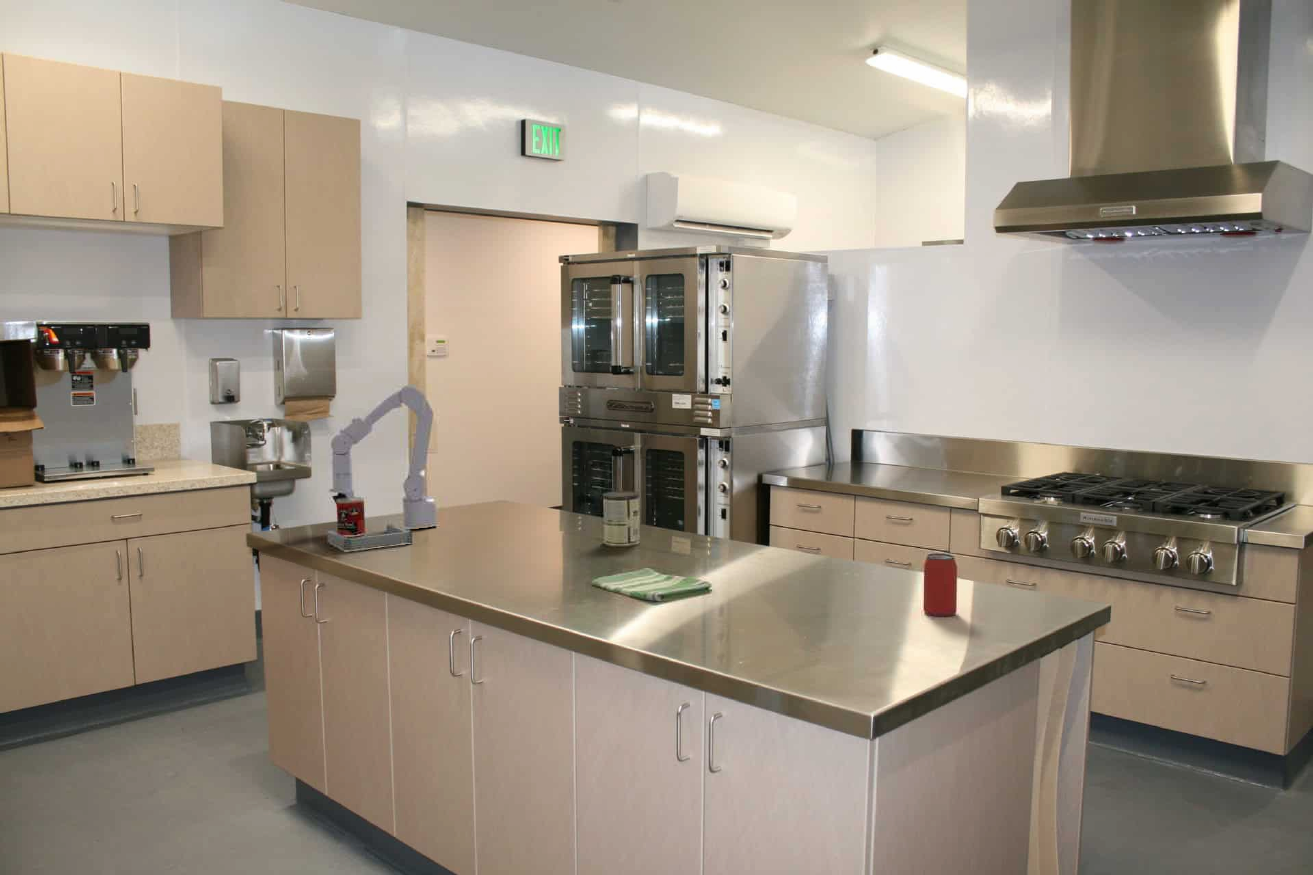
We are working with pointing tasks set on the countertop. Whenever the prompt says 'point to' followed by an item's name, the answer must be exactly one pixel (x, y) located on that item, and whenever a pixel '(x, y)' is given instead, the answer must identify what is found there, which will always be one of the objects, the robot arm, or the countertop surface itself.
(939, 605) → the beer can
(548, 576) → the countertop surface
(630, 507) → the coffee can
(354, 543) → the tray
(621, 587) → the dish towel
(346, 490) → the robot arm
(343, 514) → the canned food
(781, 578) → the countertop surface
